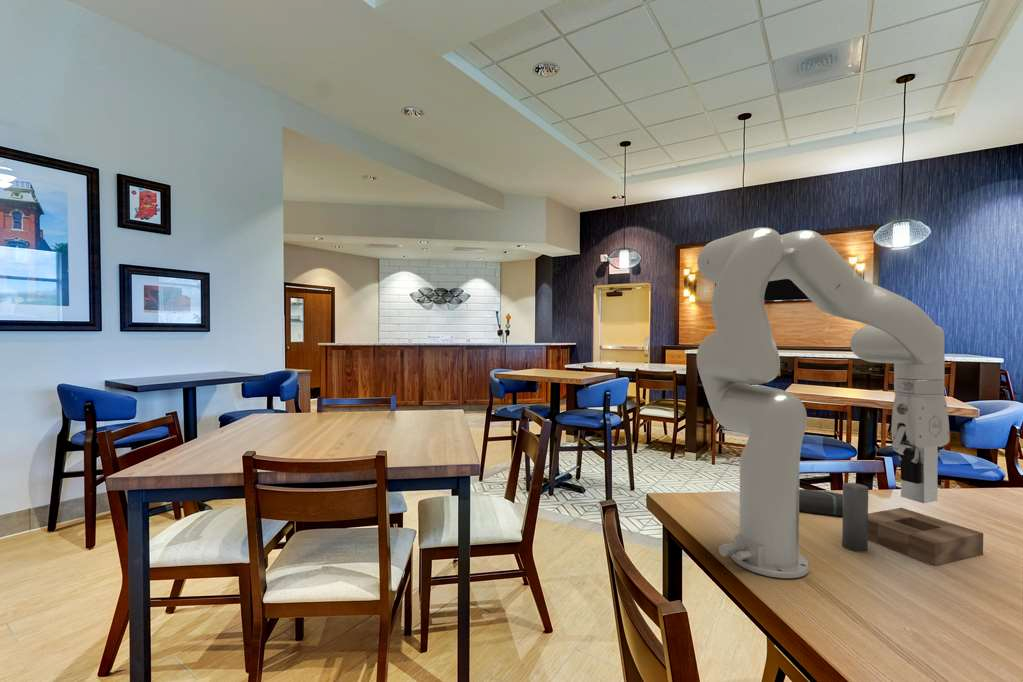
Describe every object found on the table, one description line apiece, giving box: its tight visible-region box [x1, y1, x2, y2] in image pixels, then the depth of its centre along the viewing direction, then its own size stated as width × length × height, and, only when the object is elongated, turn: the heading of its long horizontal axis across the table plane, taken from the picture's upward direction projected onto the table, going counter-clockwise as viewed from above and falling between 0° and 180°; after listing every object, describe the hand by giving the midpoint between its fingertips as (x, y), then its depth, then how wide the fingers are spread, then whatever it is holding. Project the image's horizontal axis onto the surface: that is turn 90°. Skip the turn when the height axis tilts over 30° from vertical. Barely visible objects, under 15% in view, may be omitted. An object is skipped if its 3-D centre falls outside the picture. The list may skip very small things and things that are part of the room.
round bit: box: [841, 482, 869, 553], centre depth 92 cm, size 4×4×12 cm
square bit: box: [900, 442, 939, 504], centre depth 94 cm, size 4×4×12 cm
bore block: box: [868, 507, 984, 567], centre depth 94 cm, size 14×14×4 cm
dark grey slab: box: [799, 488, 843, 517], centre depth 110 cm, size 5×19×20 cm
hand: (918, 479), depth 94 cm, fingers closed on square bit, 4 cm apart
